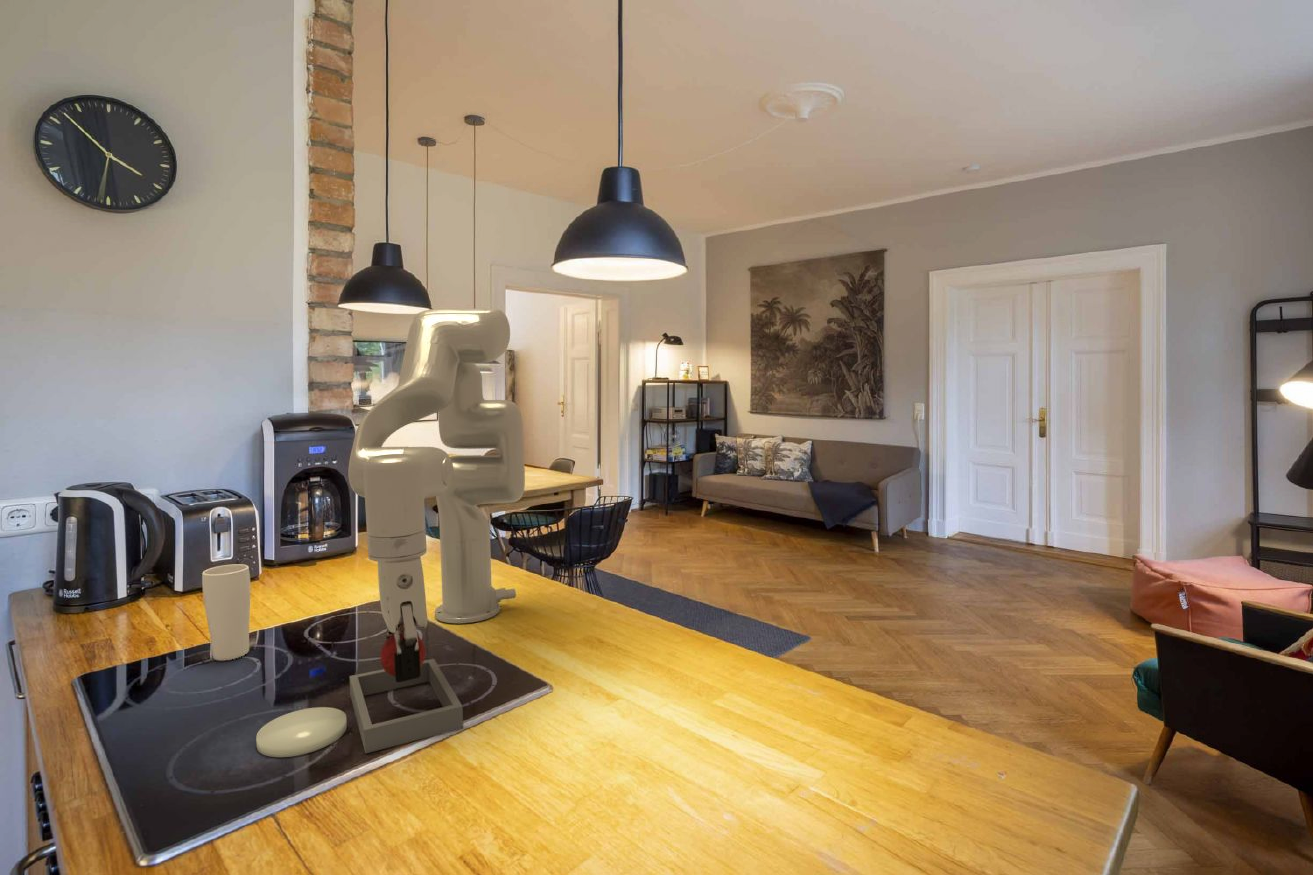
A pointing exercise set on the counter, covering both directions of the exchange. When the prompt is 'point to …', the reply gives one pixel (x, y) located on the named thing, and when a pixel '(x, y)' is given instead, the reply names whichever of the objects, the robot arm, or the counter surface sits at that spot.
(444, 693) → the crate
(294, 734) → the cream oval pebble
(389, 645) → the onion
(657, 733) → the counter surface
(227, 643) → the drinking glass
